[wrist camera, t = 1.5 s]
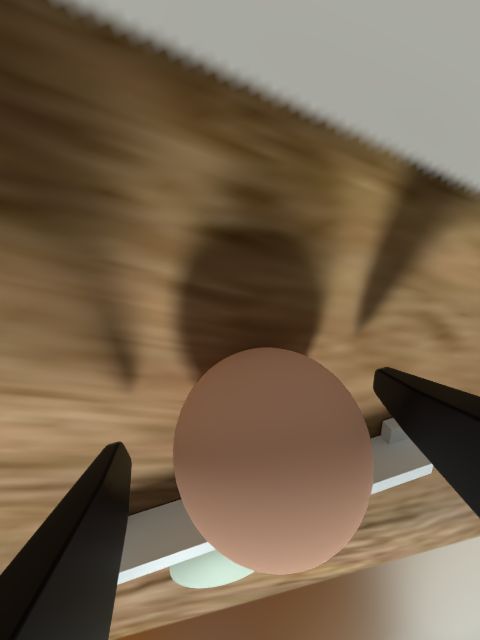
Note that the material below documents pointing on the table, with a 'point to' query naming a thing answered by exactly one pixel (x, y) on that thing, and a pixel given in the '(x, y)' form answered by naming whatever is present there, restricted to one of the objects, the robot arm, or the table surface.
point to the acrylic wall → (187, 542)
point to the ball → (273, 460)
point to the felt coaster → (207, 571)
